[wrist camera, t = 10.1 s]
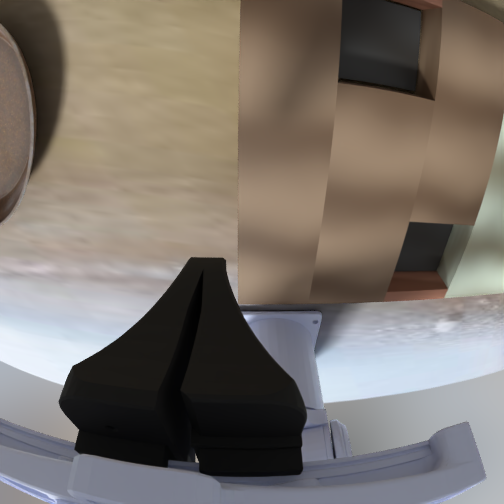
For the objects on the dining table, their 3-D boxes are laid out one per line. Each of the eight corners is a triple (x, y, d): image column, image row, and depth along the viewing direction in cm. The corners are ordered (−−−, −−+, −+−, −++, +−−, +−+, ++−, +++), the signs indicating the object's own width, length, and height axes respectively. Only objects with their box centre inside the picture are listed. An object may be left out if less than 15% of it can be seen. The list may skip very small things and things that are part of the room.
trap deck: (508, 276, 25) (519, 291, 23) (238, 281, 25) (238, 304, 23) (565, 74, 13) (584, 80, 11) (242, -34, 12) (242, -46, 10)
